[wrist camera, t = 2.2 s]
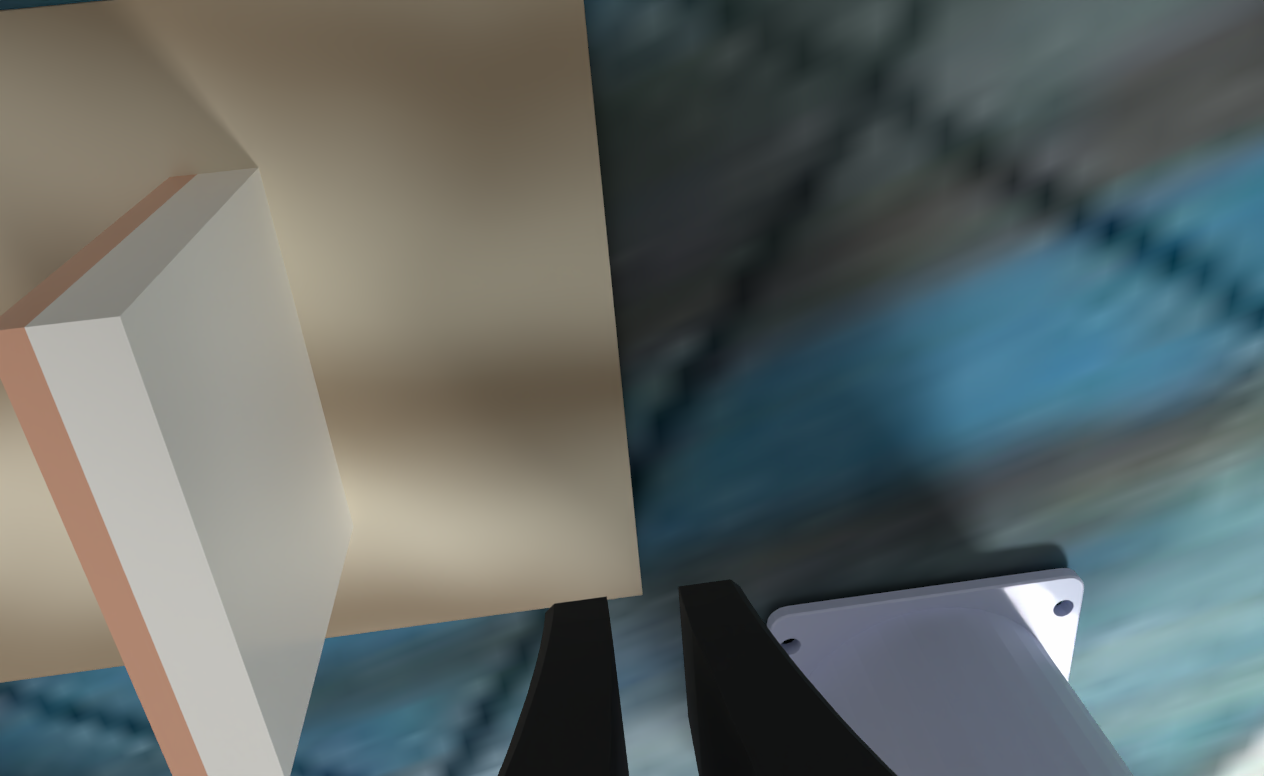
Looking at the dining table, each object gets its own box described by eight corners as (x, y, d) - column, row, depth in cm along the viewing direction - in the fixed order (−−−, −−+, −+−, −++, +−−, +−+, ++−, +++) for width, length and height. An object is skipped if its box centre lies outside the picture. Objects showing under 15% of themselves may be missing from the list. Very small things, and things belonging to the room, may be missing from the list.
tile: (353, 526, 21) (287, 785, 15) (279, 535, 21) (183, 800, 15) (258, 167, 18) (120, 316, 11) (169, 177, 18) (-20, 332, 11)
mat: (641, 586, 23) (642, 594, 23) (-132, 692, 22) (-140, 701, 22) (577, -46, 17) (578, -45, 17) (-516, 61, 16) (-533, 63, 16)
